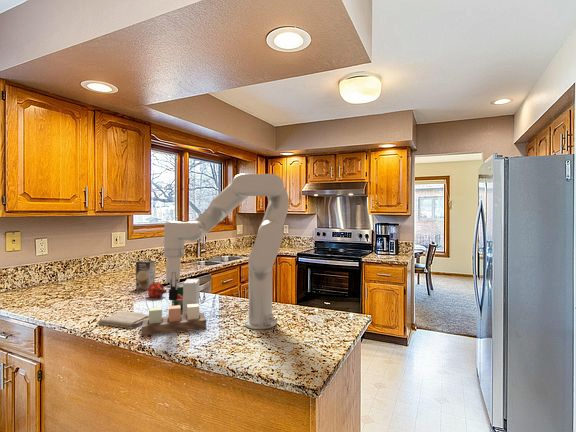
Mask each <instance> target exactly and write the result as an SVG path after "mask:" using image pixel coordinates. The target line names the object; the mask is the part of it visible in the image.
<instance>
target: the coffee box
mask: <svg viewBox="0 0 576 432" xmlns="http://www.w3.org/2000/svg"><path fill="white" fill-rule="evenodd" d="M155 279H156V260H142V259H141V260H138V261H135V289H136V290H137V289H139V290H148V287H149V286H150V285H151V283H153V282H156V280H155Z"/></svg>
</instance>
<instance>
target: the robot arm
mask: <svg viewBox="0 0 576 432" xmlns="http://www.w3.org/2000/svg"><path fill="white" fill-rule="evenodd" d="M249 197H267V202H268V203H267V207H266V210H265V212H264V215H263V218H262V220H261V223H260V225H259V227H258V231H257V234H256V237H255V240H254V243H253V246H252V248H251V250H250V252H249V254H248V258H247V259H248V318H247V319H246V320H245V321H244V326H245V327H246V328H248V329H251V330H252V329H253V330H265V329H266V330H268V329H272V328H274V327H276V325H277V323H278V320H277V318H276V319H275V317H274V315H275V314H274V313H273V266H274V264H275V261H276V259H277V255H278V253H279V250H280V247H281V245H282V241H283V239H284V231H283V227H284V224H285V222H286V218H287V214H288V211H289V207H290V200H289V199H290V198H289V195H288V191H287V189H285V184H284V181H283V179H282V177H280V176H279V175H278V174H274V173H239V174H236V175H235V176H234V177H233V178H232V180H231V182H230V183H229V184H228V185H226V187H225V188H224V189H222V191H220V192H219V193H218V194H217V195H216V196H215V197H214V198H213V199H212V200H211V202H210V203H209V206H208V207H207V208H206V209H205V210H203V212H202V213H201V214H200V215H198V217H197V218H196V219H194V220H193V221H185V222H183V221H176V220H175V221H171V220H170V221H166V222H165V223H164V227H163V228H164V229H163V230H164V231H163V232H164V234H163V258H166V263H165V283H166V285H167V284H168V283H169V288H168V300H169V301H172V300H177V298H178V289H177V284H180V278H181V270H182V269H181V266H182V265H181V264H182V258H183V257H185V241H191V242H195V241H199V240H200V239H202V238H204V237H205V236H206V235H207V234H208V233H209V232H210V231H211V230H212V229H213V228H215V226H217V225H218V224H219V223H220V222H221V221H223V220H224V219H225V218H227V217H228V216H229V215H230V214H231V213H232V212H233V211H234V210H235V209H236V208H237V207H239V205H240V204H242V203H243V202H244V201H245V200H246V199H247V198H249Z"/></svg>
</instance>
